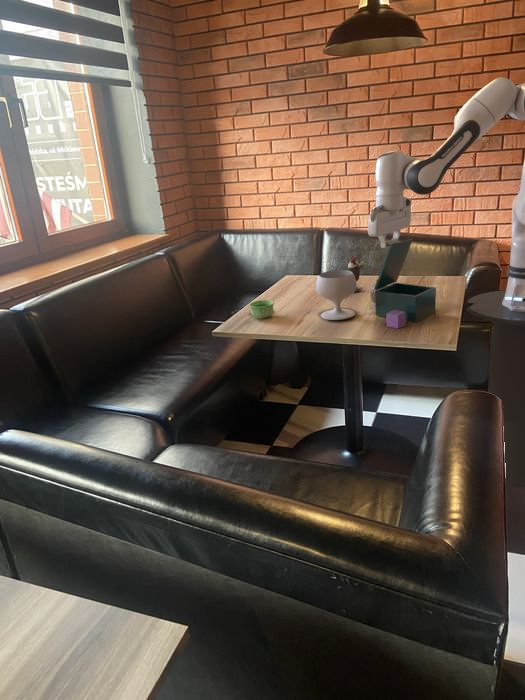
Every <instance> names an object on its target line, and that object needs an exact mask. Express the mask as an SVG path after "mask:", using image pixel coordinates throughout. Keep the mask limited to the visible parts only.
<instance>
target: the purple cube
mask: <svg viewBox="0 0 525 700" xmlns="http://www.w3.org/2000/svg"><path fill="white" fill-rule="evenodd" d="M385 318H386V319H385V322H386V327H388V328H394V329H400V328H402V327H404V326H406V322H407V321H406V312H403V311H397V310H393V311H391V312H388V313H386V317H385Z"/></svg>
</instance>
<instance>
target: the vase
mask: <svg viewBox="0 0 525 700" xmlns="http://www.w3.org/2000/svg"><path fill="white" fill-rule="evenodd" d="M377 280H378V278H377V279H376V280H375V282H374V283H373V284H372V286H371V288H370V294H369V296H370V300H371V301H372V303H374V305H376V302H375V291H376V290H375V286H376V283H377ZM385 287H386V286H385ZM382 288H384V287H382ZM380 289H381V288H380ZM378 290H379V289H378Z"/></svg>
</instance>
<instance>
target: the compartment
mask: <svg viewBox="0 0 525 700" xmlns="http://www.w3.org/2000/svg"><path fill="white" fill-rule="evenodd" d="M436 299H437V287H434V286H428V285H420V284H411V283H403V282H395V283H392V284H390V285H387V286H386V287H384V288H381V289H379V290H376V291H375V302H376V304H375V316H378V317H383V318H386V313H388V312H391V311H393V310H397V311H403V312H406V322H411V323H418V322H420V321H422V320H424V319H426V318H428V317H429V316H431V315H433V314H435V313H436V302H437V301H436Z"/></svg>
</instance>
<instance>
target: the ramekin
mask: <svg viewBox="0 0 525 700" xmlns="http://www.w3.org/2000/svg"><path fill="white" fill-rule="evenodd" d="M248 305H249V309H250V313H251V316H252V317H253V318H257V319H260V318H262V319H263V318H267V317H270V316H272V315H274V301H273V300H272V299H271V300H269V299H261V300H256V301H255V300H254V301H252V302H250V303H249V304H248Z"/></svg>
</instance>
